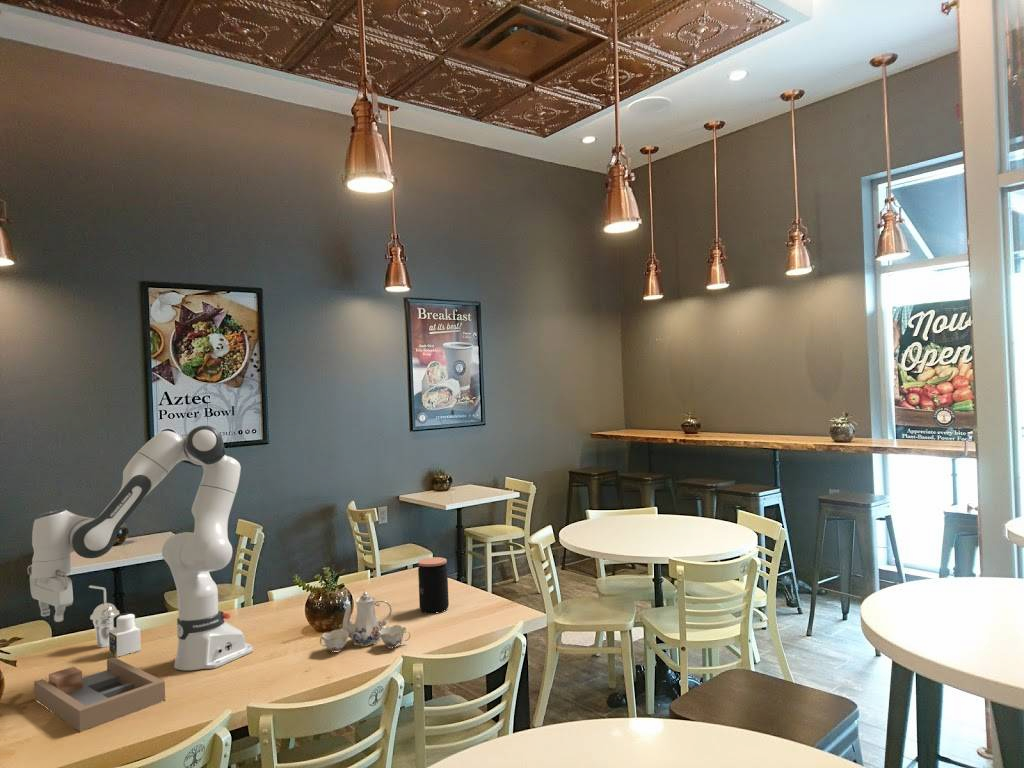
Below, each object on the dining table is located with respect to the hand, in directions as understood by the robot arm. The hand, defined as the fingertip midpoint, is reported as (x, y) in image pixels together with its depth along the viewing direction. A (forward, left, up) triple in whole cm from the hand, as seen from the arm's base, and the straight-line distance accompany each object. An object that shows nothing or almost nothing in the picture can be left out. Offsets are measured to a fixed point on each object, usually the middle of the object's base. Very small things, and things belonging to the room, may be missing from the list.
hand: (51, 618), depth 185 cm
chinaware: (-71, +49, -21) cm, 88 cm away
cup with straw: (-24, -29, -20) cm, 43 cm away
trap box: (-5, +17, -20) cm, 27 cm away
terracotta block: (-1, +7, -18) cm, 20 cm away
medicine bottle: (-25, -16, -20) cm, 36 cm away
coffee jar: (-108, +42, -20) cm, 118 cm away
